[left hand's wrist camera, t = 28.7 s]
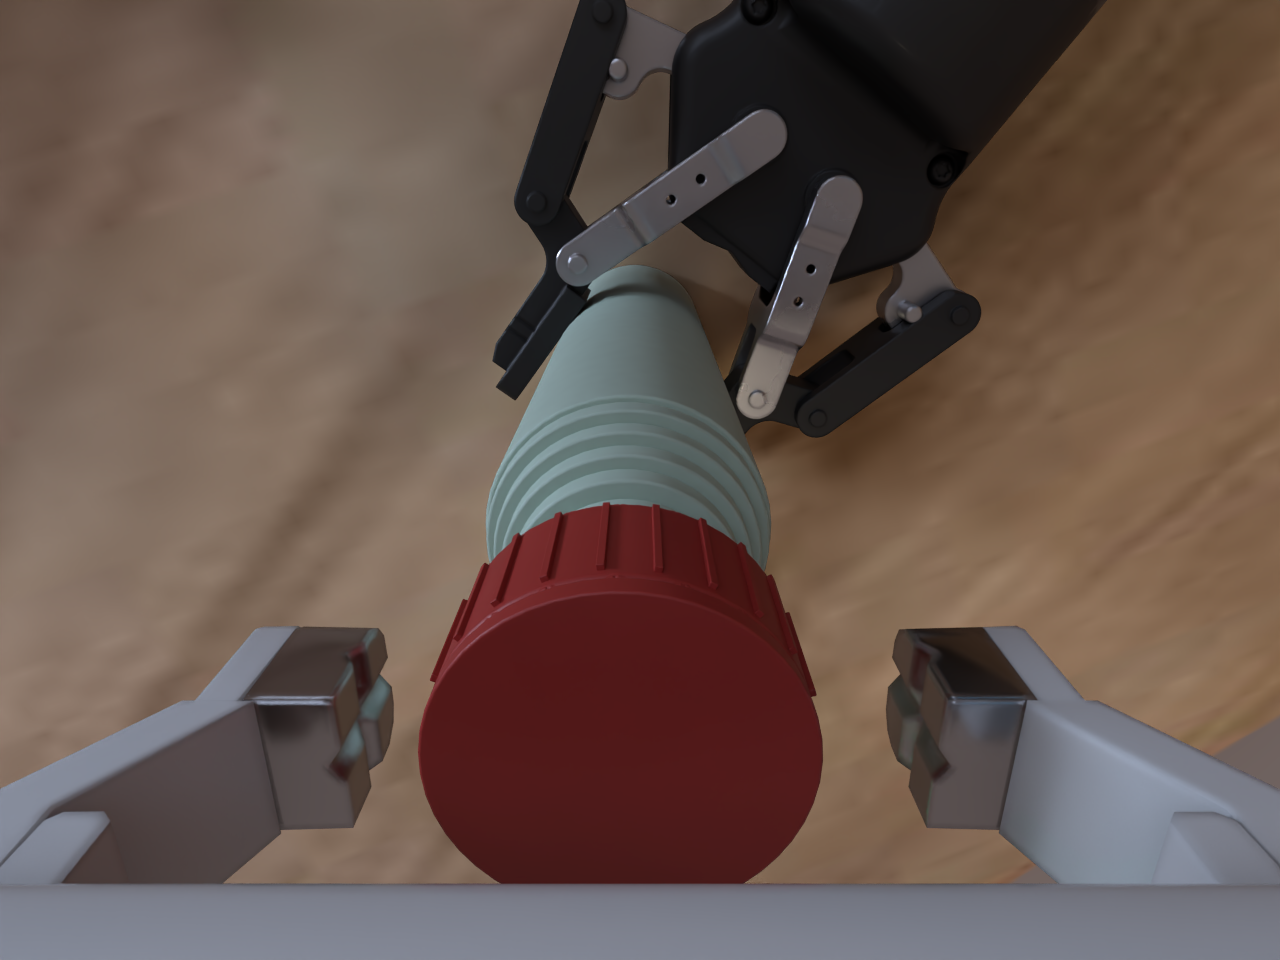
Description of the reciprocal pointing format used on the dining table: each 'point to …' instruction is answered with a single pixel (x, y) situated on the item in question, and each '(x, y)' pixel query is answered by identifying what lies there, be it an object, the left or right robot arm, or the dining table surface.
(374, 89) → the dining table surface
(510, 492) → the bottle
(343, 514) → the dining table surface
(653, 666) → the cap
